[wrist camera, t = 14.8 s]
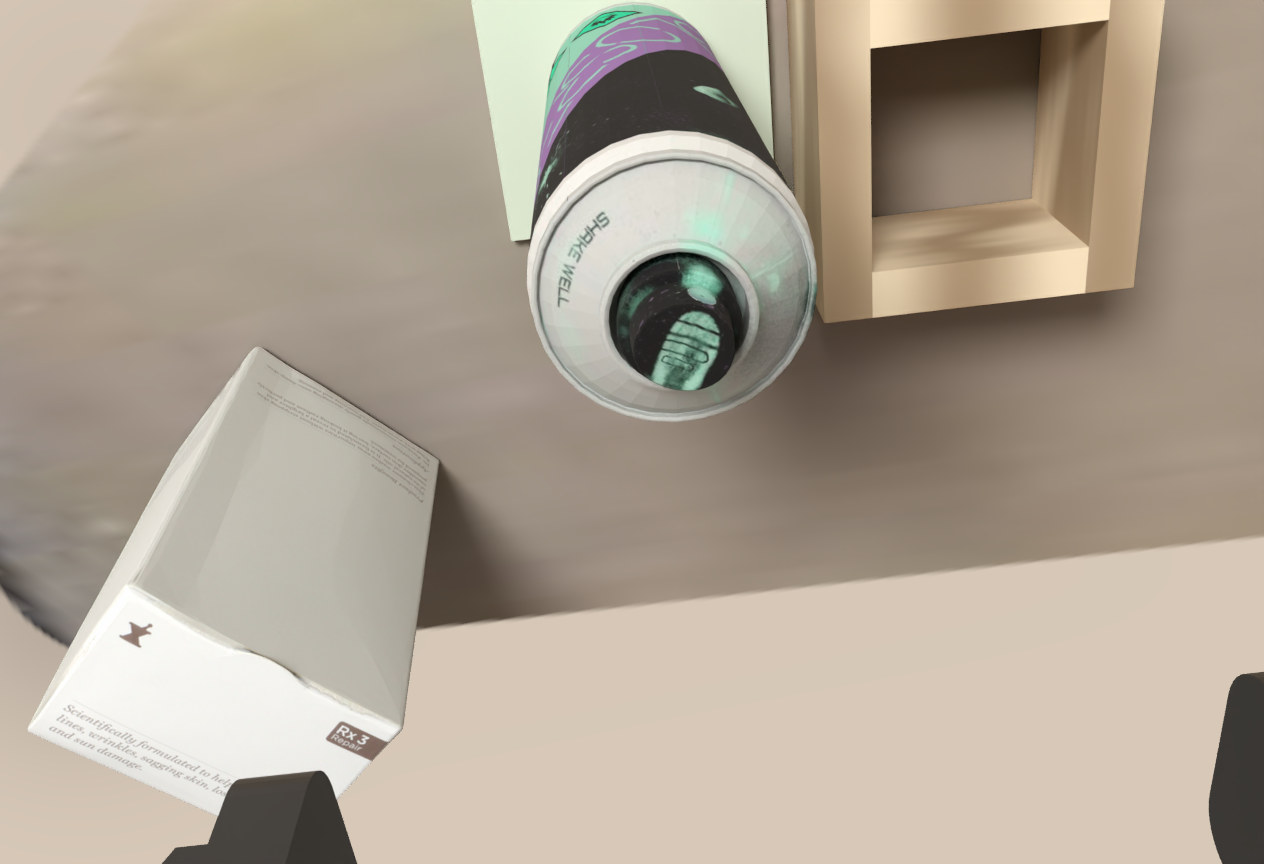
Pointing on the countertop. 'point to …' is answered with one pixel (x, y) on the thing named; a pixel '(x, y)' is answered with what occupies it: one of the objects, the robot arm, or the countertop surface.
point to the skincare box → (256, 600)
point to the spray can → (661, 226)
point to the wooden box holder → (988, 233)
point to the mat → (527, 46)
